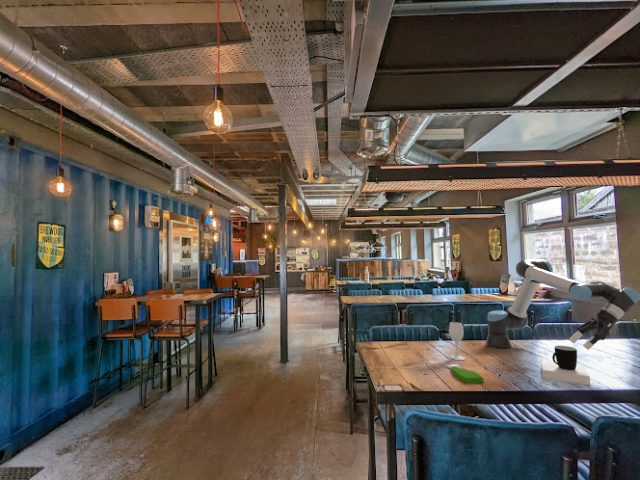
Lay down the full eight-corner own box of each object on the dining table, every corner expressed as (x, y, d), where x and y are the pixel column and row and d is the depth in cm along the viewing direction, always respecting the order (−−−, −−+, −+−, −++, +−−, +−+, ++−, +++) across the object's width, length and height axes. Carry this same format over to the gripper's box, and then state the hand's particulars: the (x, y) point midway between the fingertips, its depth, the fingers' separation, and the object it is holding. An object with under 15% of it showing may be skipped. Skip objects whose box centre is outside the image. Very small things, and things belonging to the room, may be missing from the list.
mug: (566, 364, 164) (565, 345, 165) (583, 370, 155) (581, 349, 156) (546, 366, 162) (544, 346, 163) (561, 372, 154) (560, 351, 154)
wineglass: (447, 356, 195) (445, 322, 197) (460, 355, 196) (458, 321, 197) (454, 360, 186) (452, 324, 188) (468, 360, 187) (466, 324, 189)
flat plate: (543, 378, 157) (542, 369, 157) (541, 368, 171) (540, 361, 171) (590, 385, 148) (589, 376, 148) (584, 374, 161) (583, 366, 161)
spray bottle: (464, 384, 152) (442, 368, 176) (486, 383, 152) (461, 367, 177) (464, 378, 152) (441, 363, 176) (485, 377, 153) (460, 362, 177)
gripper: (634, 324, 144) (599, 356, 146) (601, 316, 168) (572, 344, 170) (619, 312, 146) (584, 344, 148) (588, 306, 170) (559, 334, 172)
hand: (577, 344), depth 159 cm, fingers open, 13 cm apart
